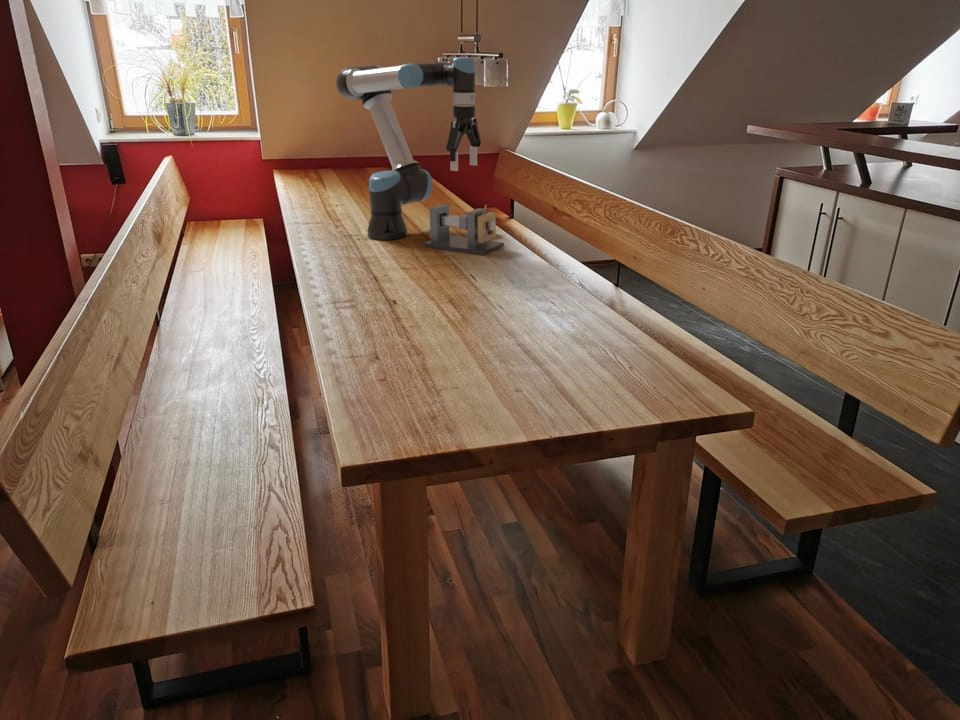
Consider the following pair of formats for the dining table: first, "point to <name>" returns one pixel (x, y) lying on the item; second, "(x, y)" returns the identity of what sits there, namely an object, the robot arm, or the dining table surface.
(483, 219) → the block
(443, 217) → the shaft
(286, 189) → the dining table surface
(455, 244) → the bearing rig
